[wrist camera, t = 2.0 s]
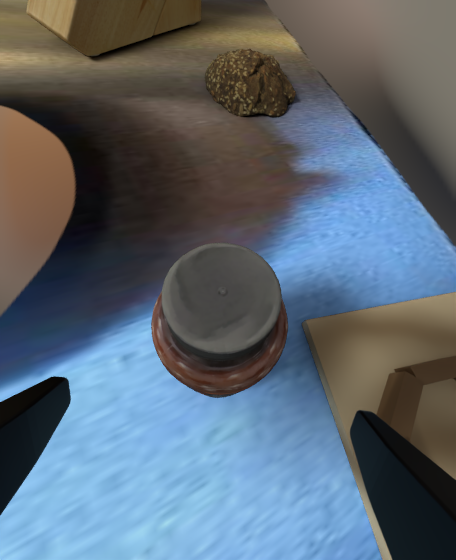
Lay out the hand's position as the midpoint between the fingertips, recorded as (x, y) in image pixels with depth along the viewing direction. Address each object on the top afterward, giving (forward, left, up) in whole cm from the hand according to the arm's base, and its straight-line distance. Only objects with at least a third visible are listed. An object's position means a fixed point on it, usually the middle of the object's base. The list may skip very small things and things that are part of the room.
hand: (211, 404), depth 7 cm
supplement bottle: (+3, -1, -10) cm, 11 cm away
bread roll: (+38, -12, -10) cm, 41 cm away
